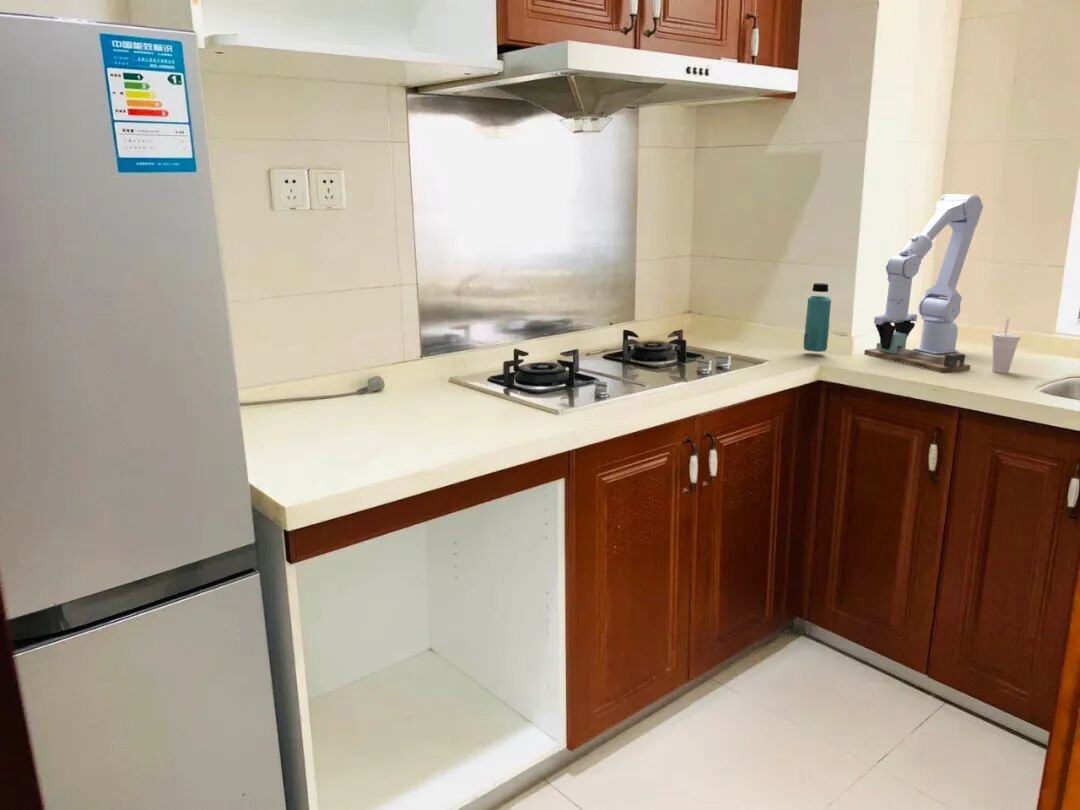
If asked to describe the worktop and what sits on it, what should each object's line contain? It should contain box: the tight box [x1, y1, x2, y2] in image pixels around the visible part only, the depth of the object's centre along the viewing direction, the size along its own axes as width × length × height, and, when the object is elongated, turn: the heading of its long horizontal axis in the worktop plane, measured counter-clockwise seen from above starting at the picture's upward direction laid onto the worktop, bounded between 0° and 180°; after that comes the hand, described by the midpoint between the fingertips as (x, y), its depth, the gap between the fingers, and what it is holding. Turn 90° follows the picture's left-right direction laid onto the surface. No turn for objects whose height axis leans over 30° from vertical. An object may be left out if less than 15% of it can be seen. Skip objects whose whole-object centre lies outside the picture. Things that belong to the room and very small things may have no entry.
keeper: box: [879, 331, 908, 354], centre depth 230 cm, size 5×4×5 cm
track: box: [863, 342, 972, 374], centre depth 223 cm, size 26×10×4 cm, turn 26°
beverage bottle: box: [803, 282, 832, 353], centre depth 229 cm, size 6×7×20 cm
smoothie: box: [991, 317, 1021, 374], centre depth 211 cm, size 6×6×14 cm
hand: (892, 348), depth 230 cm, fingers open, 5 cm apart
